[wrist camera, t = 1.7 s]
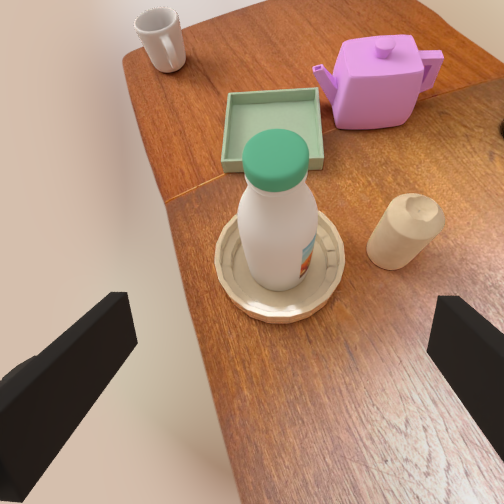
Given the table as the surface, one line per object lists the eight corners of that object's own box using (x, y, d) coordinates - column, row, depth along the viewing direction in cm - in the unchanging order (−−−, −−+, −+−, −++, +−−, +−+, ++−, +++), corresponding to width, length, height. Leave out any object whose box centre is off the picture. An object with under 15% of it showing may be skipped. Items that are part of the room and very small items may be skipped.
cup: (201, 76, 55) (189, 30, 48) (162, 91, 55) (144, 46, 47) (183, 47, 60) (169, 1, 53) (147, 61, 59) (128, 16, 52)
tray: (223, 172, 45) (220, 161, 43) (230, 105, 51) (228, 92, 49) (322, 169, 44) (324, 157, 41) (316, 100, 50) (318, 87, 48)
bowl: (216, 322, 35) (208, 315, 32) (225, 216, 42) (220, 200, 38) (344, 325, 34) (351, 318, 30) (333, 214, 40) (338, 197, 37)
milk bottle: (284, 305, 35) (286, 220, 17) (236, 268, 38) (195, 161, 20) (321, 259, 37) (357, 139, 19) (273, 227, 40) (266, 95, 22)
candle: (391, 279, 36) (428, 243, 27) (356, 249, 38) (380, 206, 29) (420, 252, 37) (465, 208, 28) (385, 224, 39) (416, 175, 30)
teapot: (310, 135, 47) (317, 73, 37) (306, 91, 51) (311, 25, 42) (428, 128, 45) (465, 61, 36) (413, 83, 49) (443, 13, 40)
